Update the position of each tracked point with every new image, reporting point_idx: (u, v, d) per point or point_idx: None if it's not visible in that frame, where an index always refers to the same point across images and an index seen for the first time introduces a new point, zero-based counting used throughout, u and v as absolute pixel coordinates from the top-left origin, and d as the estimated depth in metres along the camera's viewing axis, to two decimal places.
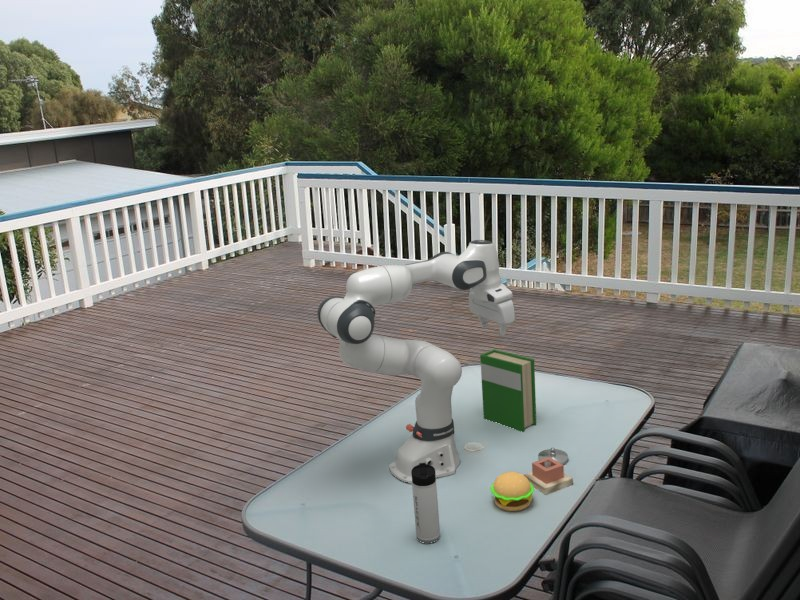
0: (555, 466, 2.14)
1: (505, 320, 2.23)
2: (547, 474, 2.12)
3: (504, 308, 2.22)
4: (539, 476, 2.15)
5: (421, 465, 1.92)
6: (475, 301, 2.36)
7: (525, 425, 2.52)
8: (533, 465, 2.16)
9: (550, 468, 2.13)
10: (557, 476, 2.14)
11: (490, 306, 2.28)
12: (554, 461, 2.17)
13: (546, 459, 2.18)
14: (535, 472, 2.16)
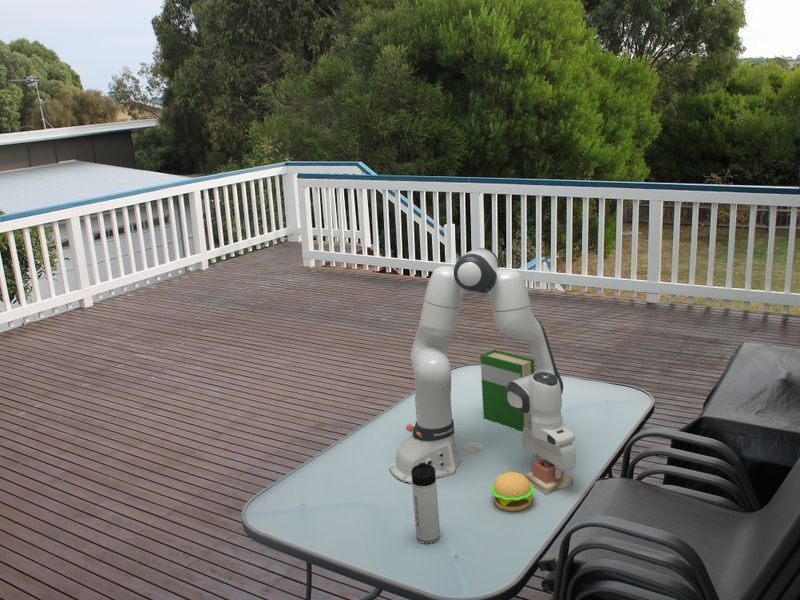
0: None
1: (565, 466, 2.05)
2: (547, 474, 2.12)
3: (565, 452, 2.05)
4: (539, 476, 2.15)
5: (421, 465, 1.92)
6: (530, 436, 2.18)
7: None
8: (533, 465, 2.16)
9: (550, 468, 2.13)
10: None
11: (548, 446, 2.11)
12: None
13: None
14: (535, 472, 2.16)
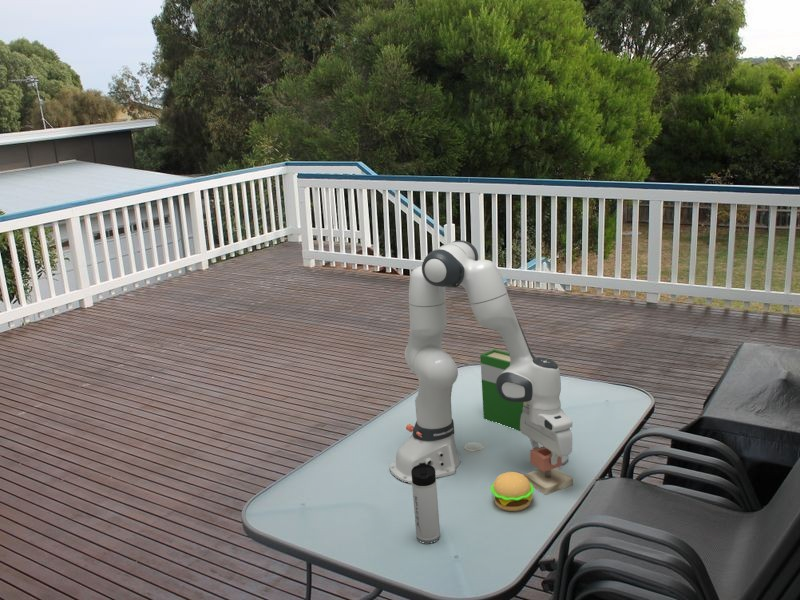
0: None
1: (561, 451, 2.03)
2: (545, 462, 2.11)
3: (562, 438, 2.03)
4: (537, 464, 2.13)
5: (421, 465, 1.92)
6: (528, 422, 2.17)
7: None
8: (531, 453, 2.15)
9: (548, 456, 2.11)
10: (555, 464, 2.12)
11: (545, 432, 2.09)
12: None
13: (544, 447, 2.17)
14: (533, 460, 2.15)
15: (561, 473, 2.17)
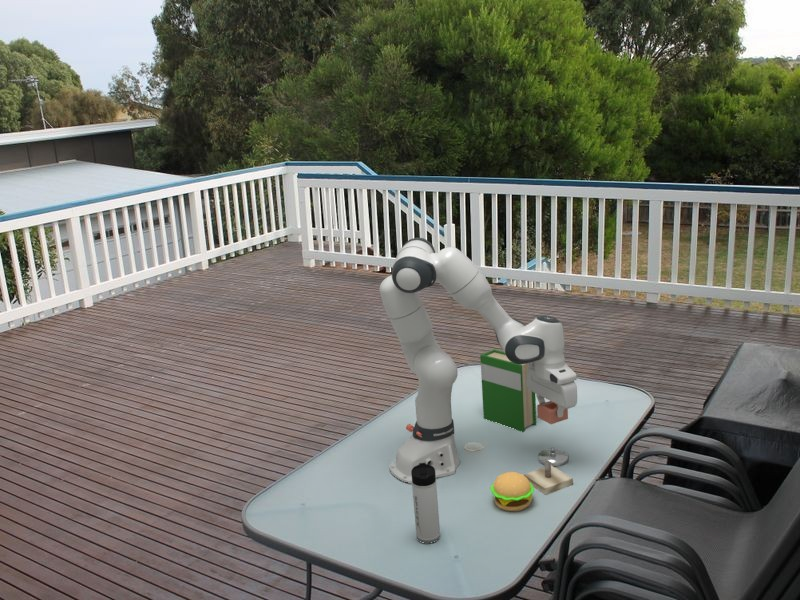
0: None
1: (567, 403, 2.12)
2: (551, 415, 2.19)
3: (567, 390, 2.12)
4: (544, 418, 2.22)
5: (421, 465, 1.92)
6: (534, 378, 2.25)
7: (525, 425, 2.52)
8: (538, 407, 2.24)
9: (554, 409, 2.20)
10: (561, 417, 2.21)
11: (551, 386, 2.18)
12: None
13: (551, 402, 2.26)
14: (540, 414, 2.24)
15: (561, 473, 2.17)
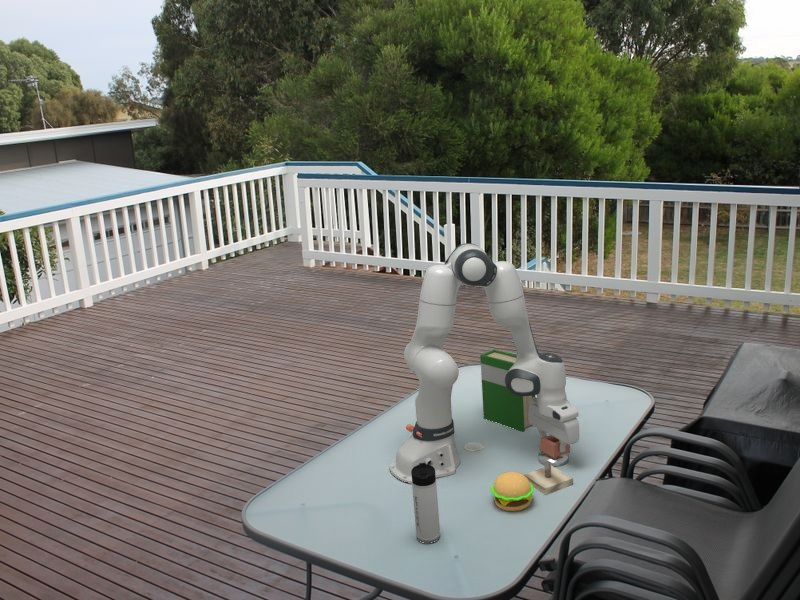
0: None
1: (570, 439, 2.18)
2: (555, 448, 2.25)
3: (570, 427, 2.18)
4: (547, 450, 2.28)
5: (421, 465, 1.92)
6: (536, 414, 2.31)
7: (525, 425, 2.52)
8: (541, 440, 2.30)
9: (557, 443, 2.26)
10: None
11: (553, 422, 2.24)
12: None
13: None
14: (543, 447, 2.30)
15: (561, 473, 2.17)
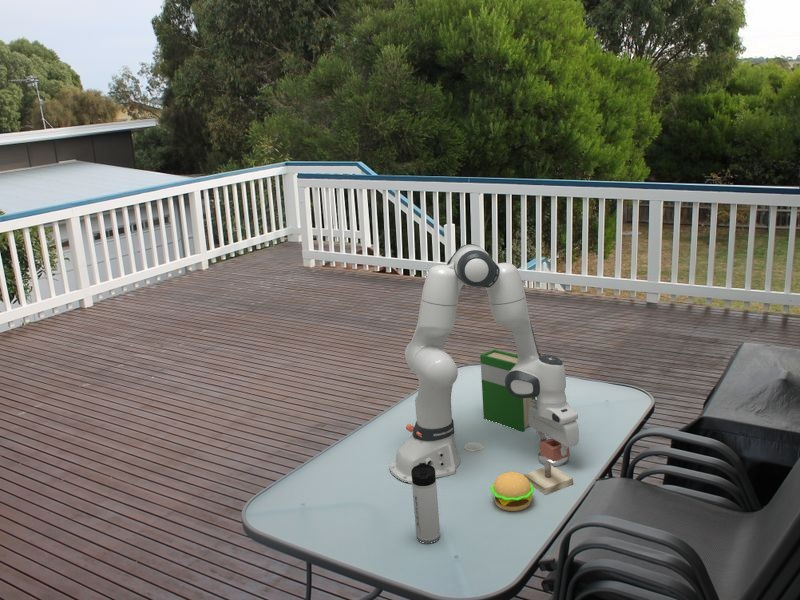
0: None
1: (569, 442, 2.18)
2: (554, 452, 2.25)
3: (569, 430, 2.18)
4: (546, 455, 2.28)
5: (421, 465, 1.92)
6: (536, 416, 2.31)
7: (525, 425, 2.52)
8: (540, 444, 2.30)
9: (557, 447, 2.26)
10: None
11: (553, 425, 2.24)
12: None
13: (553, 439, 2.32)
14: (542, 451, 2.30)
15: (561, 473, 2.17)
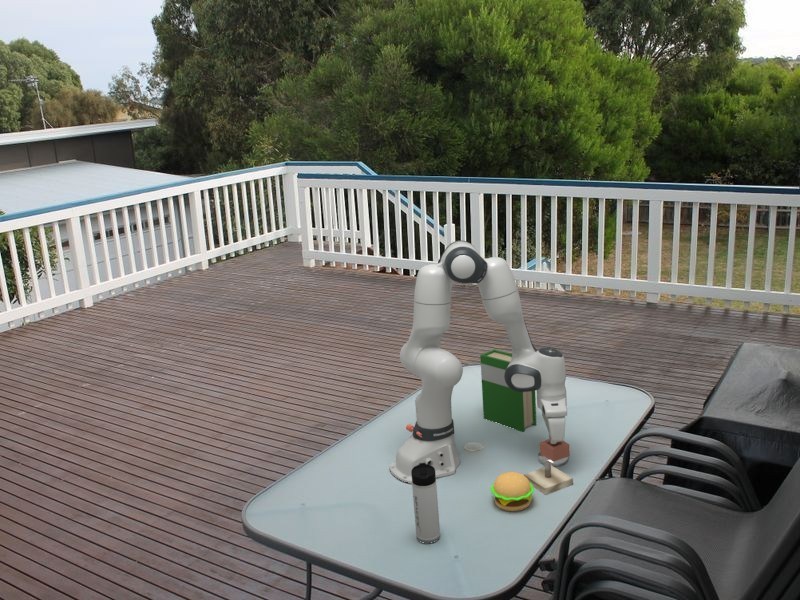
0: (561, 445, 2.27)
1: (552, 436, 2.17)
2: (554, 452, 2.25)
3: (553, 424, 2.16)
4: (546, 455, 2.28)
5: (421, 465, 1.92)
6: None
7: (525, 425, 2.52)
8: (540, 444, 2.30)
9: (557, 447, 2.26)
10: (563, 454, 2.27)
11: None
12: None
13: None
14: (542, 451, 2.30)
15: (561, 473, 2.17)
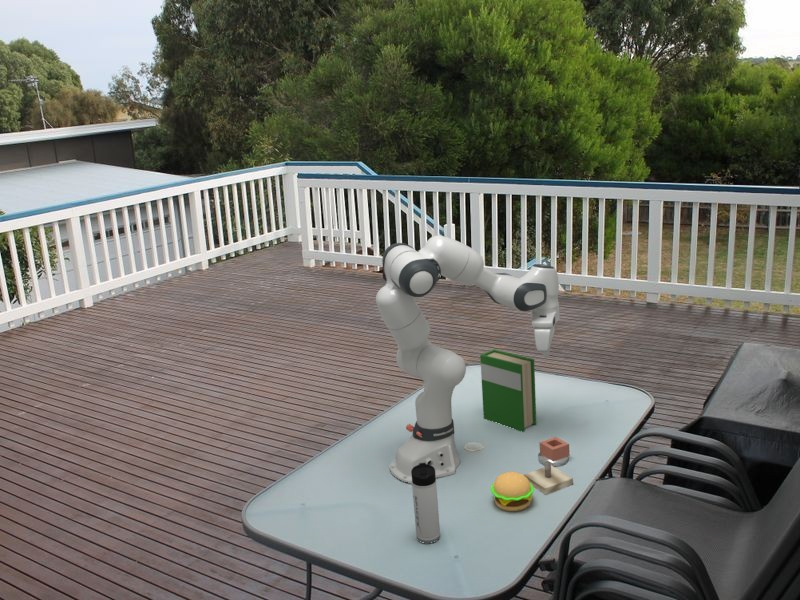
0: (561, 445, 2.27)
1: (536, 346, 2.26)
2: (554, 452, 2.25)
3: (538, 334, 2.25)
4: (546, 455, 2.28)
5: (421, 465, 1.92)
6: None
7: (525, 425, 2.52)
8: (540, 444, 2.30)
9: (557, 447, 2.26)
10: (563, 454, 2.27)
11: None
12: (560, 440, 2.30)
13: (553, 439, 2.32)
14: (542, 451, 2.30)
15: (561, 473, 2.17)
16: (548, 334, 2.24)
